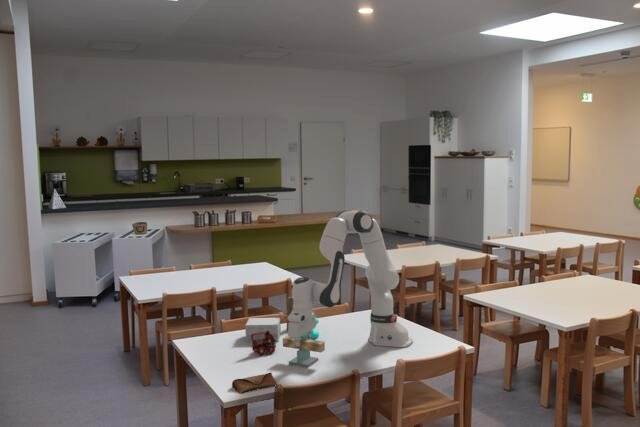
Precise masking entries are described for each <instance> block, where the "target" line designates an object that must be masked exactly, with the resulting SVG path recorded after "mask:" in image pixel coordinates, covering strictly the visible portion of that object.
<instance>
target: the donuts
mask: <svg viewBox="0 0 640 427" xmlns="http://www.w3.org/2000/svg"><path fill="white" fill-rule="evenodd" d="M319 320H320V319H318V317H316V326H317V325H318V323H319ZM306 335H307V333H306V334H304V335H302V336H301V337H300V338H303V339H306ZM319 335H320V333H319V331H318V330H317V329H315V328H314V329H312V332H311V336H310V338H311V339H310V340H315V339H317V338H318V337H319Z"/></svg>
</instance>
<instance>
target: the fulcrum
mask: <svg viewBox="0 0 640 427" xmlns="http://www.w3.org/2000/svg"><path fill="white" fill-rule="evenodd" d="M318 361H319V357H315V356H311V351H308V350H301V349H297V350H296V356H295V357H293V359H291V360H290V361H288V365H290V366H291V365H292V366H297V367H303V368H307V369H308V368H310V367H312V366H313V365H315V363H317V362H318Z"/></svg>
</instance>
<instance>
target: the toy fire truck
mask: <svg viewBox="0 0 640 427" xmlns="http://www.w3.org/2000/svg"><path fill="white" fill-rule="evenodd" d="M251 339H252V342H251V343H252V345H251V347H252V352H254V353H256V354H257V355H258V356H261V357H262V356H263V355H265V353H268V354H269V355H271V354H274V353H275V351H276V348H277V342H276V340H275V339H274V337H273V335H272V334H270V331H266V333H265V332H260V333H254V334H252V335H251Z"/></svg>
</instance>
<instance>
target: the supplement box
mask: <svg viewBox="0 0 640 427" xmlns="http://www.w3.org/2000/svg"><path fill="white" fill-rule="evenodd" d="M281 330H282V328H281V317H249V318H248V320H247V322H246V324H245V330H244V331H245V342H246V343H252V339H251V335H252V334H254V333H260V332H265V333H266V331H270V334H272V335H273V337H274V339H275V340H276V343H277V342H279V340H280V338H281V333H282V332H281Z"/></svg>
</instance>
